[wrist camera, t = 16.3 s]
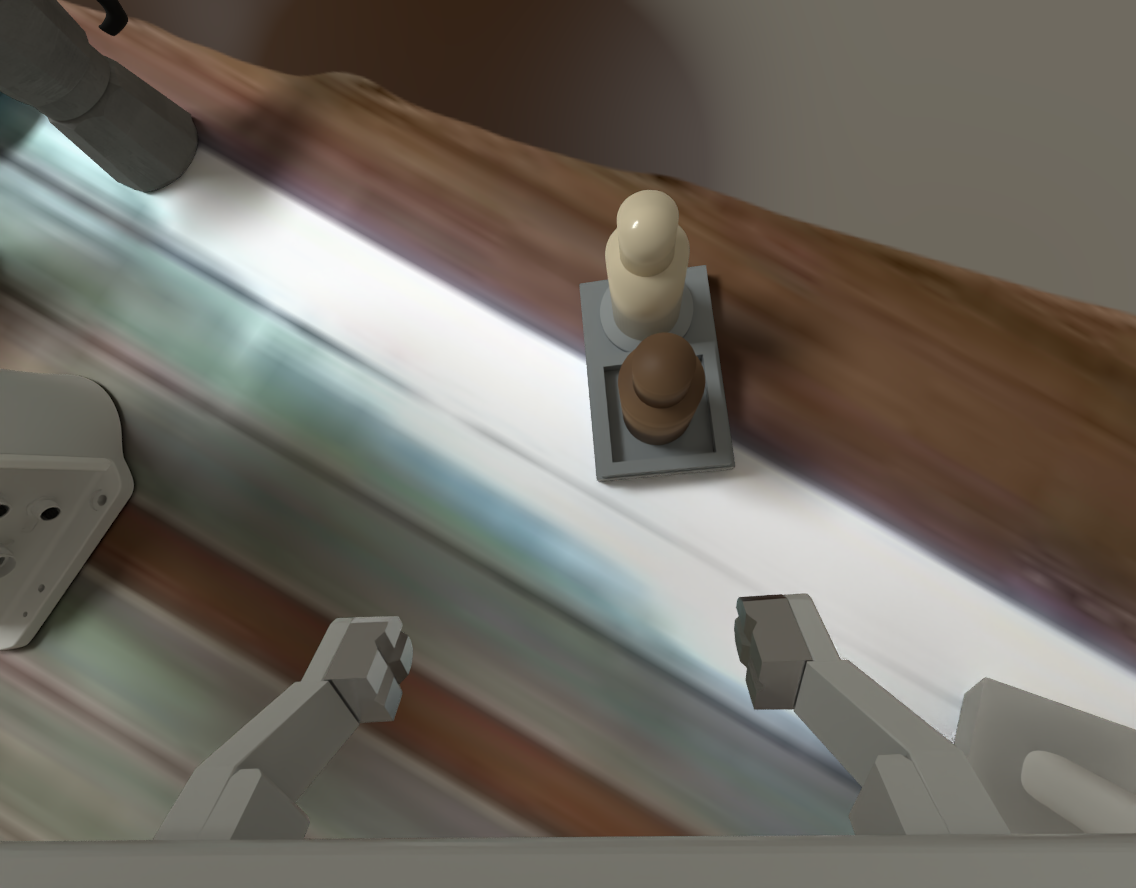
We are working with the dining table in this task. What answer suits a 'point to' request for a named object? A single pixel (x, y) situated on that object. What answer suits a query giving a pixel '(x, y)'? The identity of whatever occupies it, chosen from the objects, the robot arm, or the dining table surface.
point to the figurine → (1048, 762)
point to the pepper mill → (660, 388)
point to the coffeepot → (93, 94)
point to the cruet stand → (636, 311)
